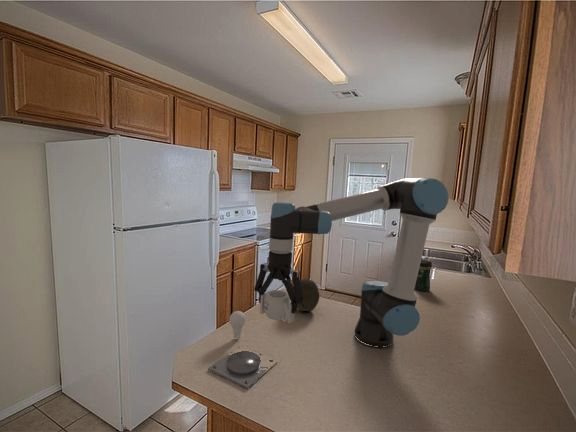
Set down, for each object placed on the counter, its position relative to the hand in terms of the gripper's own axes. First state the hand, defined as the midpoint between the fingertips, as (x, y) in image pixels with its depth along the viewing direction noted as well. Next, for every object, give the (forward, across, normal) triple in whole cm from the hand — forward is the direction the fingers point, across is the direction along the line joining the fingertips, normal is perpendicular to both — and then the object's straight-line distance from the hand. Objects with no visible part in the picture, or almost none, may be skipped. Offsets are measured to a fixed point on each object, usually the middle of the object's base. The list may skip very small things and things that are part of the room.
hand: (276, 317), depth 96 cm
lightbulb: (+17, +21, -6) cm, 27 cm away
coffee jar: (+15, -32, -115) cm, 120 cm away
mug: (0, -1, 0) cm, 1 cm away
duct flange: (+17, +8, +6) cm, 19 cm away
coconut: (+16, +12, -45) cm, 49 cm away
